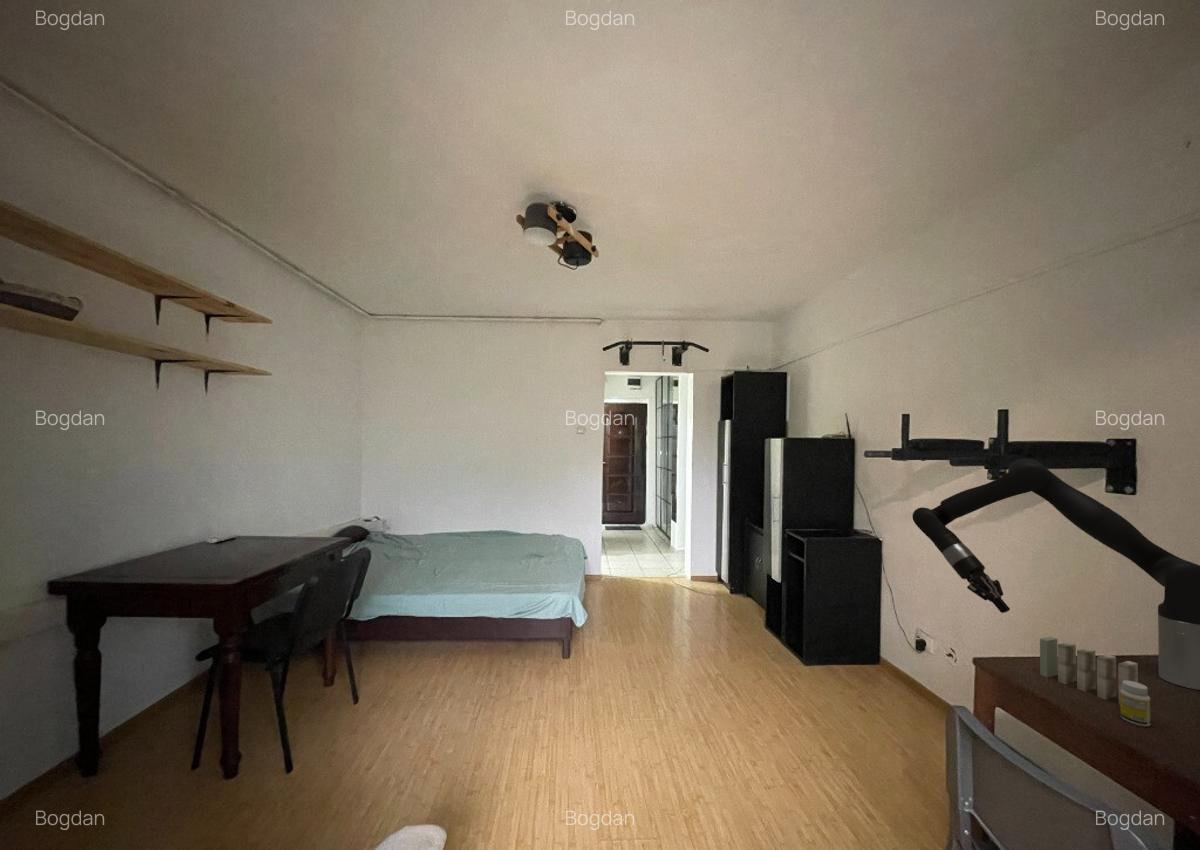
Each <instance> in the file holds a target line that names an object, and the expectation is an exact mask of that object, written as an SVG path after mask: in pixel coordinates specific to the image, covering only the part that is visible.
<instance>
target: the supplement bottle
mask: <svg viewBox="0 0 1200 850" xmlns="http://www.w3.org/2000/svg"><path fill="white" fill-rule="evenodd" d="M1122 688H1123V689H1121V690H1120V705H1119V706H1120V717H1121V719H1122V720H1124V721H1126V722H1128V723H1130V724H1133V725H1137V726H1139V727H1150V726H1151V725H1152V720H1151V719H1152V718H1151V717H1152V716H1151V711H1152V710H1151V697H1150V696H1149V695H1148V693H1149V690H1148V689H1149V688H1148V687H1147V686H1146V685H1144V684H1142V683H1140V682H1138V683H1137V682H1133V681H1127V680H1124V681H1122Z"/></svg>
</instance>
